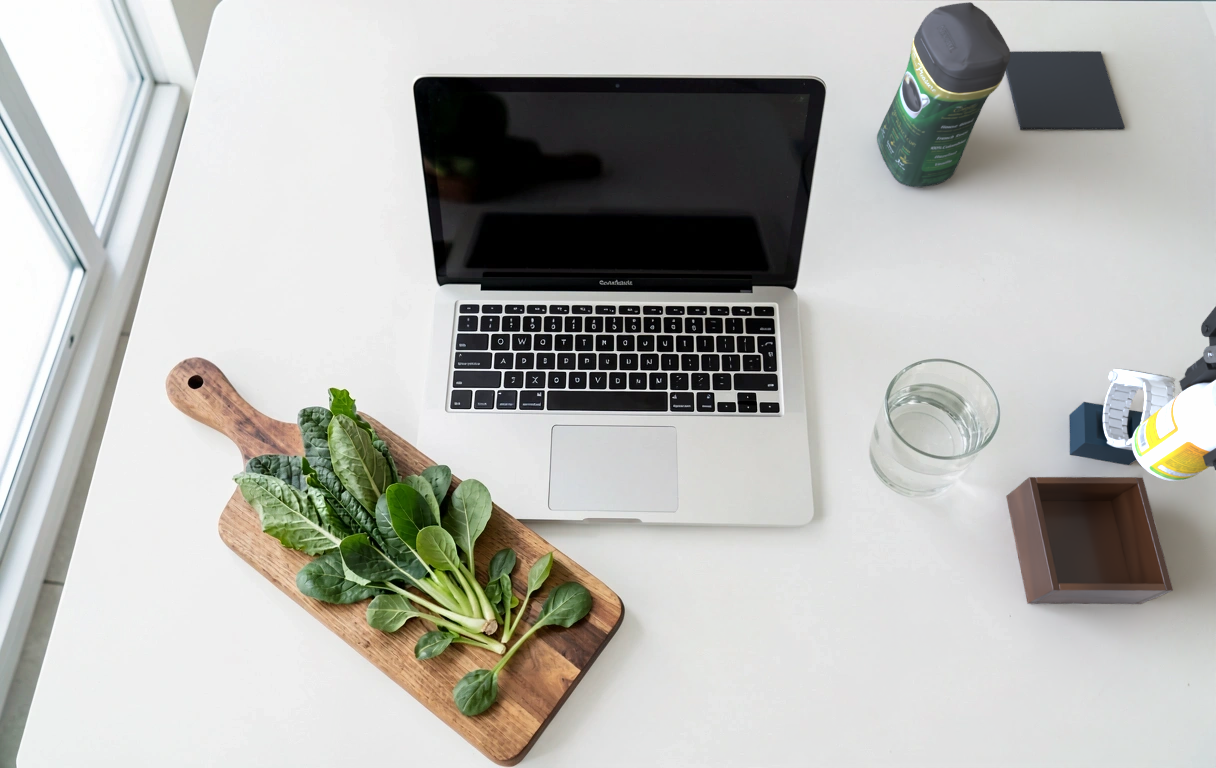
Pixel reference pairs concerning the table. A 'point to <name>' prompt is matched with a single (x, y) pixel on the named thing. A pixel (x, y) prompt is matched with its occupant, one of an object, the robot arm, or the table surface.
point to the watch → (1117, 416)
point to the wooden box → (1087, 541)
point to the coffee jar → (942, 94)
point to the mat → (1062, 91)
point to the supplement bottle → (1178, 434)
